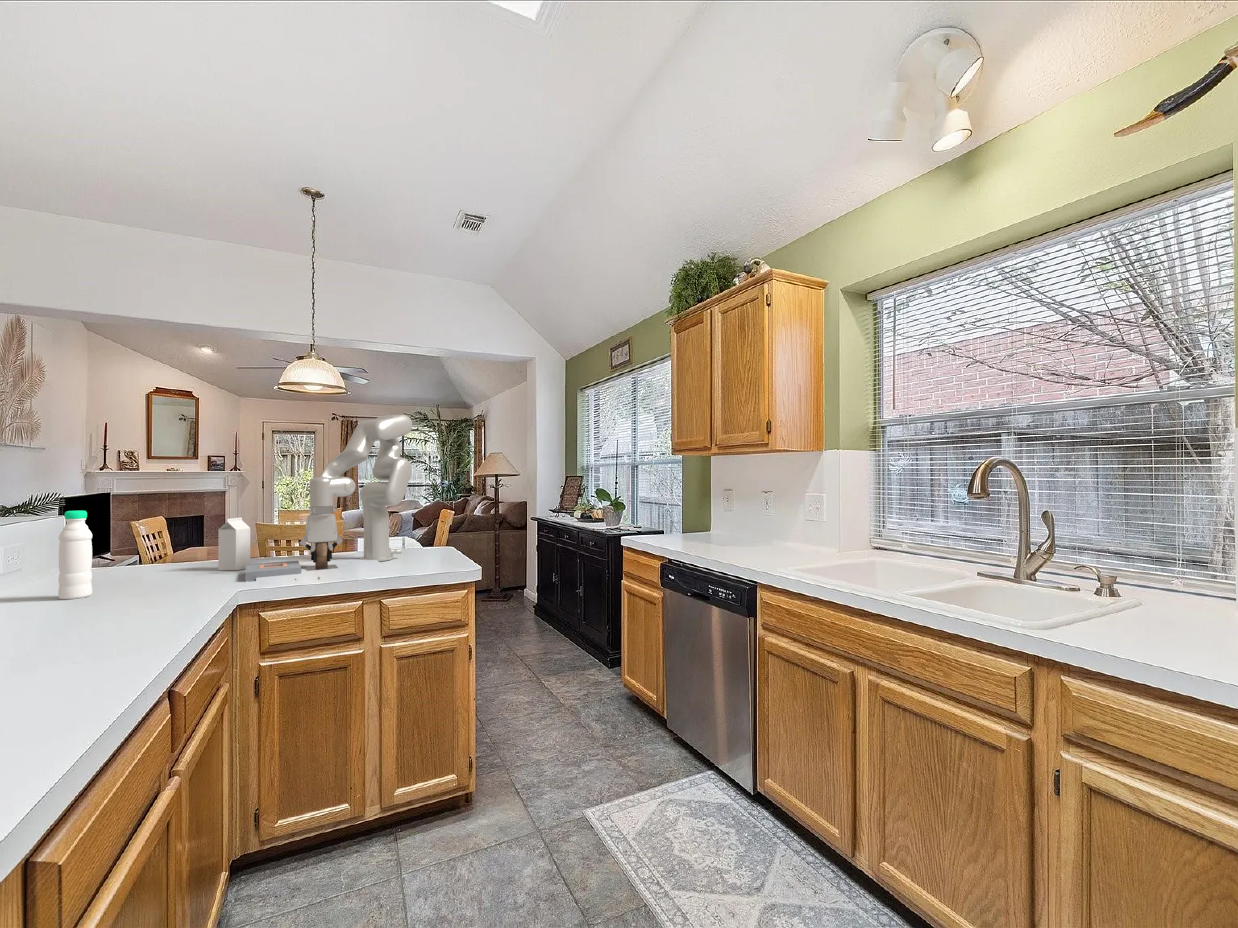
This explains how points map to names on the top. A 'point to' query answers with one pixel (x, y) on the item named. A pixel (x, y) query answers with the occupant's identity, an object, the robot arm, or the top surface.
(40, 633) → the top surface
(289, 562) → the hole plate
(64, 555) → the milk bottle
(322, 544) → the peg
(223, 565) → the milk carton
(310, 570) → the tongue
